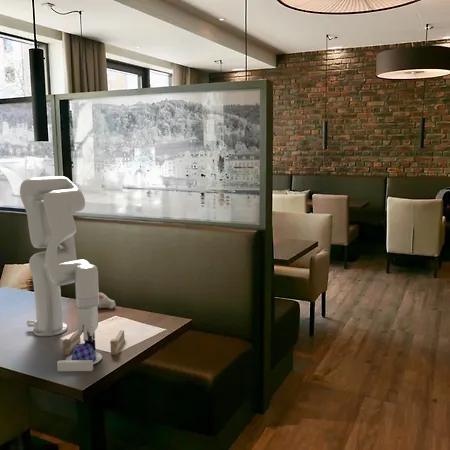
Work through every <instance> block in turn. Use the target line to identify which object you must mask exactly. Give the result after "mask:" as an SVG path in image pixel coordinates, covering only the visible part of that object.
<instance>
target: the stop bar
mask: <svg viewBox="0 0 450 450" xmlns="http://www.w3.org/2000/svg"><path fill="white" fill-rule="evenodd" d="M56 363H57V364H56V365H57V372H93V370H94V364H93V360H66V359H65V360H61V359H60V360H58V361H57V362H56Z"/></svg>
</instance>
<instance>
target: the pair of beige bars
mask: <svg viewBox="0 0 450 450" xmlns="http://www.w3.org/2000/svg"><path fill="white" fill-rule="evenodd" d="M80 341H81V336H78V331H77V330H75V331H74V332H73V334H72V335H70V337H69V338H64V339H63V341H62V342H61V343H62V354H63V356H71V354H72V352H73V349H74V347H75V346H77V345H78V344H79V342H80ZM124 341H125V330H119V331H118V333H117V335H116V336H115V338H111V339H110V341H109V343H110V355H111V356H117V355H118V354H117V353H119V350H120V349H121V346H122V345H123V342H124Z"/></svg>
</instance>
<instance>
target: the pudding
mask: <svg viewBox="0 0 450 450" xmlns="http://www.w3.org/2000/svg"><path fill="white" fill-rule="evenodd" d="M102 358H103V355H102V354H101V353H100V352H97V351H94V350H93V347H92V345H90V344H85V342H83V343H78V344H77V345H76V346H75V347H74V349H73V350H72V353H71V354H70V355H68V356H67V357H66V358H65V360H93V365H95V364H98V363H99V362H100V361H101V360H102Z"/></svg>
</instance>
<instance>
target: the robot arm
mask: <svg viewBox="0 0 450 450" xmlns="http://www.w3.org/2000/svg"><path fill="white" fill-rule="evenodd" d="M19 195H20V199H21V202H22V205H23V206H24V209H25V212H26V216H27V224H28V231H29V233H28V234H29V239H30V243H31V245H32V247H33V248H35V249H45V248H46V249H45V251H40V252H36V253H34V254H32V256H30V258H29V262H28V263H29V264H28V265H29V270H30V273H31V274H30V275H31V278H32V283H33V284H32V285H33V291H34V292H33V293H34V304H35V317H36V319H35V320H33V319H28V320H27V321H26V325H27V328H28V327H29V328H31V327H33V330H32V334H34V335H35V336H38V337H51V336H53V337H54V336H57V335H60V334H63V333H64V332H66V331H67V330H68V324H66V323H64V321H63V309H62V307H63V306H62V295H61V294H62V293H61V292H62V291H61V286H65V285H70V284H75V286H74V287H75V303H76V305H75V306H76V307H77V317H76V318H77V326H76V327H77V328H76V329H77V330H76V331H78V336H80V337H81V336H82V337H83V338H82V340H83V343H85V344H90V345H92V347H93V350H94V352H96V330H97V329H98V327H99V310H98V309H99V308H97V306H98V305H99V291H100V290H99V271H98V267H97V266H96V265H95V264H91V263H90V262H89V261H88V260H87V259H78V258H77V250H76V243H75V234H76V233H77V232H78V231H77V230H78V229H77V226H76V222H75V219H74V216H73V213H76V212H77V213H79V212H81V211H83V210H84V208H85V206H86V200H85V197H84V194H83V192H82V190H80V188H79V187H78V186H77V185H76V184H75V183H74V182H73V181H71V180H70V179H69V178H68V177H66V176H63V175H62V176H61V175H59V176H58V175H57V176H39V177H31V178H26V179H25V180H23V181H22V182H21V184H20V187H19ZM82 334H83V335H82Z"/></svg>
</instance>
